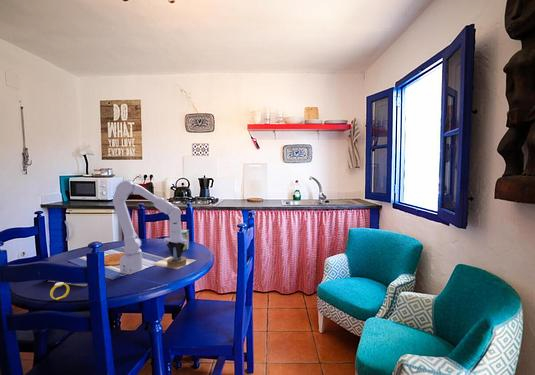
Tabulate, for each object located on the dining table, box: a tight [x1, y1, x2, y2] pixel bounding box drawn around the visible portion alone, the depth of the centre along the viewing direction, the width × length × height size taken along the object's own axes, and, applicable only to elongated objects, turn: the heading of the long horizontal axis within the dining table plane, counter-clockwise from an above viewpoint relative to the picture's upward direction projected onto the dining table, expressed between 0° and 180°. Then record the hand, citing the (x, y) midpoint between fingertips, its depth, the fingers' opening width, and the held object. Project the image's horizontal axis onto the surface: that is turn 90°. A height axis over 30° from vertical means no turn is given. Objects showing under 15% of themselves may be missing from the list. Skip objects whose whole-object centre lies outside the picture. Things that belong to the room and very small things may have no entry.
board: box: [150, 255, 197, 270], centre depth 141 cm, size 14×18×1 cm
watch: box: [49, 282, 70, 301], centre depth 104 cm, size 6×3×6 cm, turn 152°
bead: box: [167, 255, 187, 267], centre depth 138 cm, size 9×9×2 cm
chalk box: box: [177, 224, 190, 251], centre depth 166 cm, size 9×9×15 cm
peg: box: [173, 247, 180, 261], centre depth 138 cm, size 3×3×8 cm
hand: (176, 256), depth 138 cm, fingers closed on peg, 3 cm apart
